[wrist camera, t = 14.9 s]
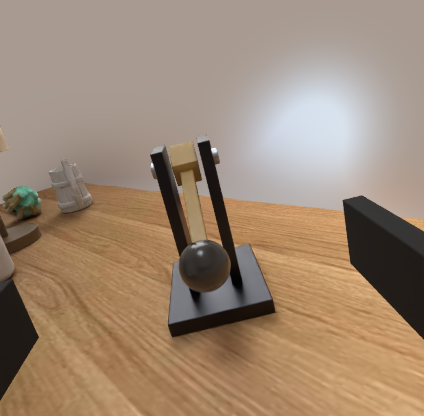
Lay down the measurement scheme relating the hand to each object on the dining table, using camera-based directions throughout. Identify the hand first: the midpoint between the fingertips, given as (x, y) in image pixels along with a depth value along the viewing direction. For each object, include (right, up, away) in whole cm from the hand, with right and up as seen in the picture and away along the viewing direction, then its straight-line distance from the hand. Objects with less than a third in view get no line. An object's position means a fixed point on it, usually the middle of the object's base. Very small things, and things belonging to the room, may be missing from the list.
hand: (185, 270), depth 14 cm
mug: (-30, +2, +71) cm, 77 cm away
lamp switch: (0, +1, +16) cm, 16 cm away
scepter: (-50, +1, +83) cm, 97 cm away
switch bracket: (+2, -6, +22) cm, 23 cm away
